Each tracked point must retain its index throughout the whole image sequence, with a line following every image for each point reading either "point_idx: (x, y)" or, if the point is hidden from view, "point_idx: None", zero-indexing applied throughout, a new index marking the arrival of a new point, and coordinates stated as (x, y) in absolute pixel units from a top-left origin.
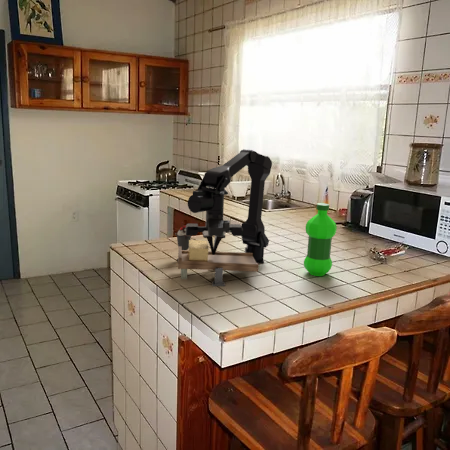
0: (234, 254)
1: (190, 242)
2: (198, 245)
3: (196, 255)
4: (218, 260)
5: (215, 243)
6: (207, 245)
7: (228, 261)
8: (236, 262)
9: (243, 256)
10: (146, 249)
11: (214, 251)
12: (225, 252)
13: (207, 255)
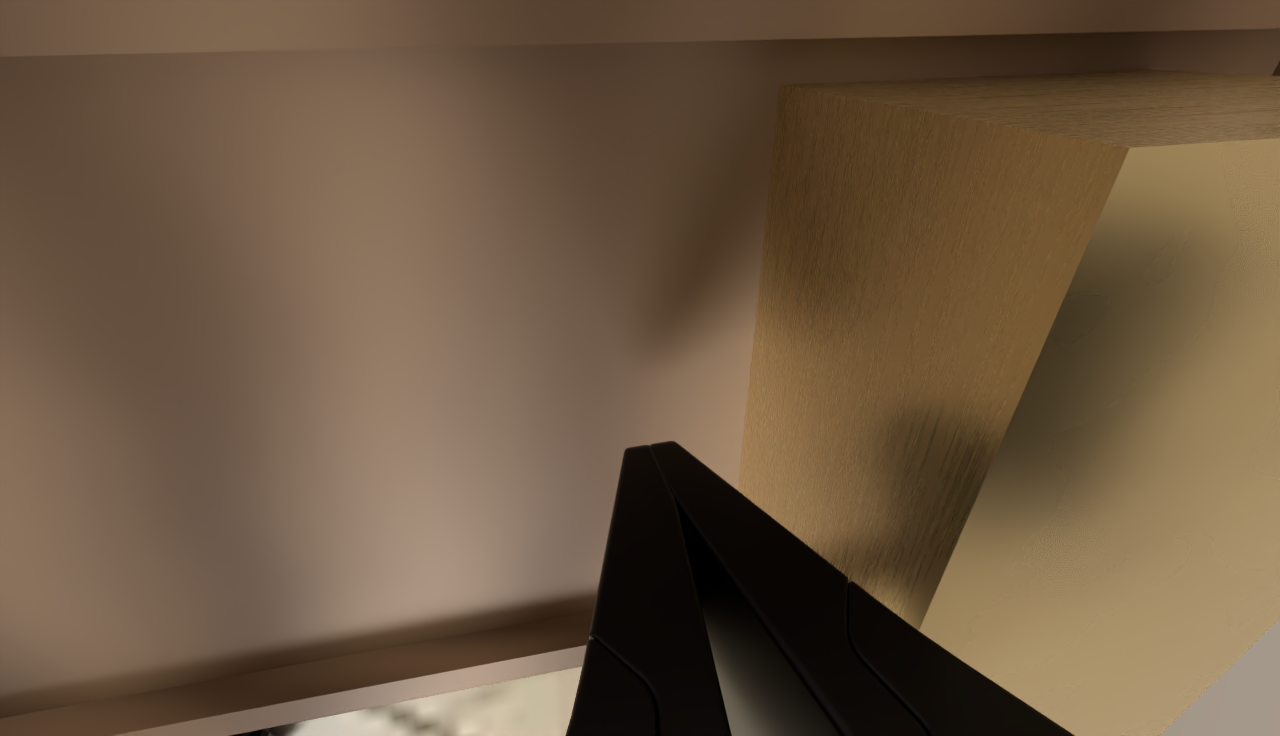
0: (272, 678)
1: (1237, 641)
2: (1225, 497)
3: (1208, 88)
4: (524, 355)
5: (712, 720)
6: (943, 578)
7: (291, 339)
8: (56, 307)
9: (82, 662)
10: None
11: (650, 492)
12: (425, 676)
13: (911, 107)
